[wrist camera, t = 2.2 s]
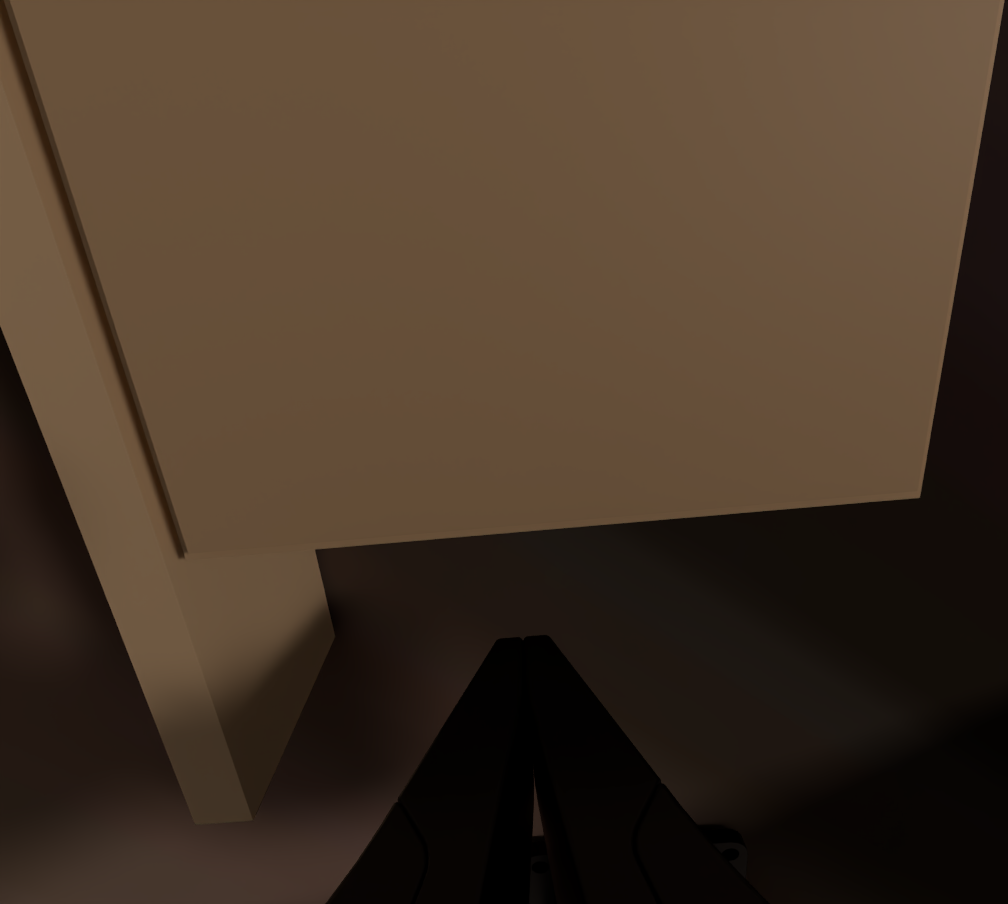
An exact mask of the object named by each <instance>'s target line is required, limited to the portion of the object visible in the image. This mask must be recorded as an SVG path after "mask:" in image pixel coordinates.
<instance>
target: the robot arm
mask: <svg viewBox="0 0 1008 904" xmlns="http://www.w3.org/2000/svg"><path fill="white" fill-rule="evenodd" d="M533 768H534V771H533ZM534 778H535V787H536V793H537V800H538V806H539V811H540V816H541V822H542V827H543V832H544V838H545V841H541V842H534V843H532V831H533V810H534ZM747 857H748V852H747V848H746V846H745V843H744V841H743V839H742V836H741V835H740V834H739V832H738V831H735V830H733V829H715V830H701V829H700V828H699V827H698V826H697V824H696V823H695V822H694V821H693V820H692V818H691V817H690V816H689V815H688V814H687V812H686V811H685V810H684V809H683V808H682V806H681V805H680V804H679V802H678V801H677V800H676V799H675V797H674V796H673V795H672V793H671V792H670V791H669V789H668V788H667V787H666V786H665V785H664V784H661V780H660V778H659V777H658V776H657V774H656V773H655V772H654V771H653V769H652V768H651V767H650V765H649V764H648V763H647V762H646V760H645V759H644V758H643V756H642V755H641V754H640V753H639V751H638V750H637V749H636V747H635V746H634V745H633V743H632V742H631V741H630V740H629V738H628V737H627V736H626V734H625V733H624V732H623V731H622V729H621V728H620V727H619V725H618V724H617V723H616V722H615V720H614V719H613V718H612V716H611V715H610V714H609V713H608V711H607V710H606V709H605V707H604V706H603V705H602V704H601V702H600V701H599V700H598V698H597V697H596V696H595V695H594V693H593V692H592V691H591V689H590V688H589V687H588V685H587V684H586V683H585V682H584V680H583V679H582V678H581V676H580V675H579V674H578V673H577V671H576V670H575V669H574V667H573V666H572V665H571V664H570V662H569V661H568V660H567V658H566V657H565V656H564V655H563V653H562V652H561V651H560V649H559V648H558V647H557V646H556V644H555V643H554V642H553V640H552V639H551V638H550V637H549V636H547V635H539V636H527V637H525V638H524V640H522V639H521V638H520V637H514V638H501V639H498V640H497V641H496V642H495V644H494V645H493V647H492V648H491V650H490V652H489V653H488V655H487V656H486V658H485V660H484V661H483V663H482V664H481V666H480V668H479V669H478V671H477V672H476V674H475V676H474V677H473V679H472V680H471V682H470V684H469V685H468V687H467V688H466V690H465V692H464V693H463V695H462V696H461V698H460V700H459V701H458V703H457V705H456V706H455V708H454V709H453V711H452V713H451V714H450V716H449V717H448V719H447V721H446V722H445V724H444V725H443V727H442V729H441V730H440V732H439V733H438V735H437V737H436V738H435V740H434V741H433V743H432V745H431V746H430V748H429V749H428V751H427V753H426V754H425V756H424V757H423V759H422V761H421V762H420V764H419V765H418V767H417V769H416V770H415V772H414V773H413V775H412V777H411V778H410V780H409V781H408V783H407V785H406V786H405V788H404V789H403V791H402V793H401V794H400V796H399V797H398V802H396V803H394V805H393V806H392V808H391V810H390V811H389V813H388V814H387V816H386V818H385V819H384V821H383V823H382V824H381V826H380V827H379V829H378V830H377V832H376V833H375V835H374V836H373V838H372V839H371V841H370V842H369V844H368V845H367V847H366V848H365V850H364V851H363V853H362V854H361V856H360V857H359V859H358V860H357V862H356V863H355V865H354V866H353V867H352V869H351V870H350V871H349V873H348V874H347V875H346V877H345V878H344V880H343V881H342V882H341V884H340V885H339V886H338V888H337V889H336V890H335V892H334V893H333V894H332V896H331V897H330V898H329V900H328V901H327V902H326V904H769V903H768V902H767V901H766V900H765V899H764V898H763V897H762V896H761V895H760V894H759V893H758V891H757V890H756V889H755V888H754V887H753V886H752V885H751V884H750V883H749V882H748V881H747V880H746V870H747Z"/></svg>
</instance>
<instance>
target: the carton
mask: <svg viewBox="0 0 1008 904" xmlns="http://www.w3.org/2000/svg"><path fill="white" fill-rule="evenodd" d="M4 3H5V6H6V9H7V12H8V15H9V18H10V21H11V24H12V27H13V30H14V33H15V36H16V39H17V43H18V46H19V49H20V52H21V55H22V58H23V61H24V64H25V67H26V70H27V73H28V76H29V79H30V82H31V86H32V89H33V92H34V95H35V98H36V101H37V104H38V107H39V110H40V113H41V116H42V119H43V122H44V125H45V129H46V132H47V135H48V138H49V141H50V144H51V147H52V150H53V153H54V156H55V159H56V162H57V165H58V168H59V172H60V175H61V178H62V181H63V184H64V187H65V190H66V193H67V196H68V199H69V202H70V205H71V208H72V211H73V215H74V218H75V221H76V224H77V227H78V230H79V233H80V236H81V239H82V242H83V245H84V248H85V251H86V254H87V258H88V261H89V264H90V267H91V270H92V273H93V276H94V279H95V282H96V285H97V288H98V291H99V294H100V297H101V301H102V304H103V307H104V310H105V313H106V316H107V319H108V322H109V325H110V328H111V331H112V334H113V337H114V340H115V343H116V347H117V350H118V353H119V356H120V359H121V362H122V365H123V368H124V371H125V374H126V377H127V380H128V383H129V386H130V390H131V393H132V396H133V399H134V402H135V405H136V408H137V411H138V414H139V417H140V420H141V423H142V426H143V429H144V433H145V436H146V439H147V442H148V445H149V448H150V451H151V454H152V457H153V460H154V463H155V466H156V469H157V472H158V476H159V479H160V482H161V485H162V488H163V491H164V494H165V497H166V500H167V503H168V506H169V509H170V512H171V515H172V519H173V522H174V525H175V528H176V531H177V534H178V537H179V540H180V543H181V546H182V549H183V552H184V555H185V558H186V560H197V559H208V558H220V557H232V556H243V555H255V554H267V553H278V552H290V551H302V550H313V549H325V548H337V547H349V546H360V545H372V544H384V543H395V542H407V541H419V540H430V539H442V538H454V537H465V536H477V535H489V534H501V533H512V532H524V531H536V530H547V529H559V528H571V527H582V526H594V525H606V524H617V523H629V522H641V521H653V520H664V519H676V518H688V517H699V516H711V515H723V514H734V513H746V512H758V511H769V510H781V509H793V508H805V507H816V506H828V505H840V504H851V503H863V502H875V501H886V500H898V499H910V498H920V493H921V487H922V481H923V476H924V470H925V464H926V458H927V452H928V446H929V440H930V434H931V429H932V423H933V417H934V411H935V405H936V399H937V393H938V387H939V382H940V376H941V370H942V364H943V358H944V352H945V346H946V340H947V335H948V329H949V323H950V317H951V311H952V305H953V299H954V293H955V287H956V282H957V276H958V270H959V264H960V258H961V252H962V246H963V240H964V235H965V229H966V223H967V217H968V211H969V205H970V199H971V193H972V188H973V182H974V176H975V170H976V164H977V158H978V152H979V146H980V141H981V135H982V129H983V123H984V117H985V111H986V105H987V99H988V94H989V88H990V82H991V76H992V70H993V64H994V58H995V52H996V47H997V41H998V35H999V29H1000V23H1001V17H1002V11H1003V5H1004V0H4Z"/></svg>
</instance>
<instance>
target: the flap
mask: <svg viewBox="0 0 1008 904" xmlns="http://www.w3.org/2000/svg"><path fill="white" fill-rule="evenodd" d="M0 326H1V329H2V331H3V334H4V337H5V339H6V342H7V344H8V347H9V349H10V352H11V354H12V357H13V360H14V362H15V365H16V367H17V370H18V372H19V375H20V378H21V380H22V383H23V385H24V388H25V390H26V393H27V395H28V398H29V401H30V403H31V406H32V408H33V411H34V413H35V416H36V419H37V421H38V424H39V426H40V429H41V431H42V434H43V436H44V439H45V442H46V444H47V447H48V449H49V452H50V454H51V457H52V460H53V462H54V465H55V467H56V470H57V472H58V475H59V477H60V480H61V483H62V485H63V488H64V490H65V493H66V495H67V498H68V501H69V503H70V506H71V508H72V511H73V513H74V516H75V518H76V521H77V524H78V526H79V529H80V531H81V534H82V536H83V539H84V542H85V544H86V547H87V549H88V552H89V554H90V557H91V559H92V562H93V565H94V567H95V570H96V572H97V575H98V577H99V580H100V583H101V585H102V588H103V590H104V593H105V595H106V598H107V600H108V603H109V606H110V608H111V611H112V613H113V616H114V618H115V621H116V624H117V626H118V629H119V631H120V634H121V636H122V639H123V641H124V644H125V647H126V649H127V652H128V654H129V657H130V659H131V662H132V664H133V667H134V670H135V672H136V675H137V677H138V680H139V682H140V685H141V688H142V690H143V693H144V695H145V698H146V700H147V703H148V705H149V708H150V711H151V713H152V716H153V718H154V721H155V723H156V726H157V729H158V731H159V734H160V736H161V739H162V741H163V744H164V746H165V749H166V752H167V754H168V757H169V759H170V762H171V764H172V767H173V770H174V772H175V775H176V777H177V780H178V782H179V785H180V787H181V790H182V793H183V795H184V798H185V800H186V803H187V805H188V808H189V811H190V813H191V816H192V818H193V821H194V823H195V825H201V824H215V823H229V822H243V821H253V820H254V818H255V815H256V813H257V811H258V809H259V806H260V804H261V802H262V800H263V797H264V795H265V793H266V791H267V788H268V786H269V784H270V782H271V780H272V777H273V775H274V773H275V771H276V768H277V766H278V764H279V762H280V759H281V757H282V755H283V753H284V750H285V748H286V746H287V744H288V741H289V739H290V737H291V735H292V732H293V730H294V728H295V726H296V723H297V721H298V719H299V717H300V714H301V712H302V710H303V708H304V706H305V703H306V701H307V699H308V697H309V694H310V692H311V690H312V688H313V685H314V683H315V681H316V679H317V676H318V674H319V672H320V670H321V667H322V665H323V663H324V661H325V658H326V656H327V654H328V652H329V649H330V647H331V645H332V643H333V640H334V638H335V634H334V629H333V625H332V621H331V617H330V612H329V608H328V604H327V600H326V595H325V591H324V587H323V583H322V578H321V574H320V570H319V566H318V561H317V557H316V553H315V549H313V550H302V551H290V552H278V553H267V554H255V555H243V556H232V557H220V558H208V559H197V560H186V558H185V555H184V552H183V549H182V546H181V543H180V540H179V537H178V534H177V531H176V528H175V525H174V522H173V519H172V515H171V512H170V509H169V506H168V503H167V500H166V497H165V494H164V491H163V488H162V485H161V482H160V479H159V476H158V472H157V469H156V466H155V463H154V460H153V457H152V454H151V451H150V448H149V445H148V442H147V439H146V436H145V433H144V429H143V426H142V423H141V420H140V417H139V414H138V411H137V408H136V405H135V402H134V399H133V396H132V393H131V390H130V386H129V383H128V380H127V377H126V374H125V371H124V368H123V365H122V362H121V359H120V356H119V353H118V350H117V347H116V343H115V340H114V337H113V334H112V331H111V328H110V325H109V322H108V319H107V316H106V313H105V310H104V307H103V304H102V301H101V297H100V294H99V291H98V288H97V285H96V282H95V279H94V276H93V273H92V270H91V267H90V264H89V261H88V258H87V254H86V251H85V248H84V245H83V242H82V239H81V236H80V233H79V230H78V227H77V224H76V221H75V218H74V215H73V211H72V208H71V205H70V202H69V199H68V196H67V193H66V190H65V187H64V184H63V181H62V178H61V175H60V172H59V168H58V165H57V162H56V159H55V156H54V153H53V150H52V147H51V144H50V141H49V138H48V135H47V132H46V129H45V125H44V122H43V119H42V116H41V113H40V110H39V107H38V104H37V101H36V98H35V95H34V92H33V89H32V86H31V82H30V79H29V76H28V73H27V70H26V67H25V64H24V61H23V58H22V55H21V52H20V49H19V46H18V43H17V39H16V36H15V33H14V30H13V27H12V24H11V21H10V18H9V15H8V12H7V9H6V6H5V3H4V0H0Z"/></svg>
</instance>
